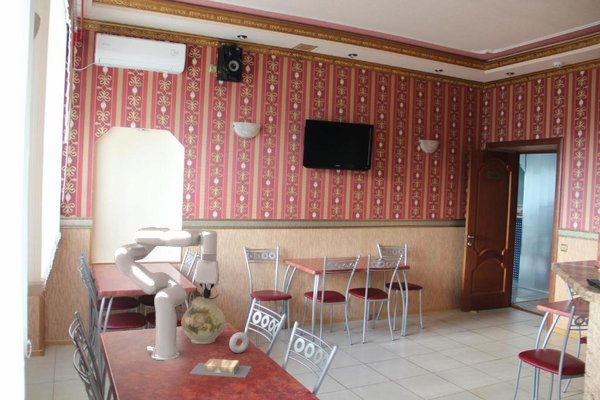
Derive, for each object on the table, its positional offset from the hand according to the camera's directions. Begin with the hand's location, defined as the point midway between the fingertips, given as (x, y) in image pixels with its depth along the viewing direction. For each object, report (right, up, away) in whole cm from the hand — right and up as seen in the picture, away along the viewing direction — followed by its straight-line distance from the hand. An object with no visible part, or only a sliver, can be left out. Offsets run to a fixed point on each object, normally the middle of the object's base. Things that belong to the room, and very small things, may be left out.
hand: (206, 298), depth 233 cm
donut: (+13, -30, +15) cm, 35 cm away
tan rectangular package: (+2, -27, -10) cm, 29 cm away
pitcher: (-9, -29, +33) cm, 45 cm away
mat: (+8, -30, -10) cm, 32 cm away
